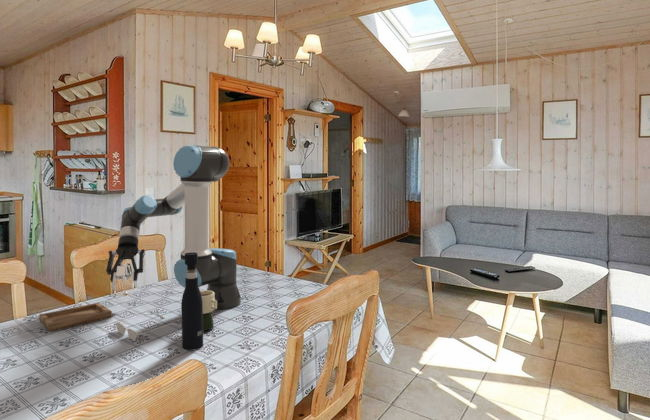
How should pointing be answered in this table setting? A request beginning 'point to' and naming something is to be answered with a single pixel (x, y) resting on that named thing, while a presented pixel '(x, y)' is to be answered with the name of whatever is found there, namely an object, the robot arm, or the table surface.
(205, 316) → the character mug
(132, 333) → the eyeglasses
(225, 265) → the robot arm
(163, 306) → the table surface
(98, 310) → the walnut tray
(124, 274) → the wineglass
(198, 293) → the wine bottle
